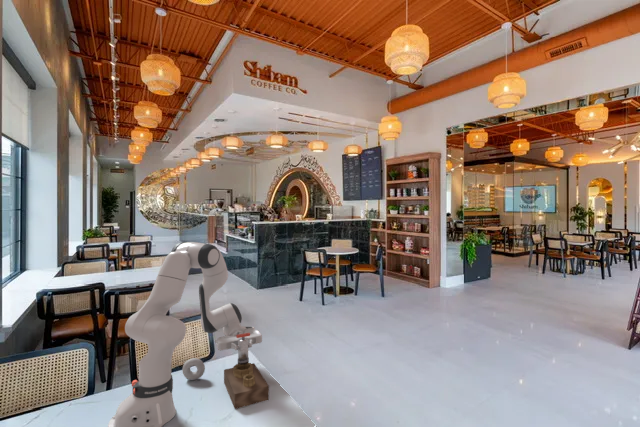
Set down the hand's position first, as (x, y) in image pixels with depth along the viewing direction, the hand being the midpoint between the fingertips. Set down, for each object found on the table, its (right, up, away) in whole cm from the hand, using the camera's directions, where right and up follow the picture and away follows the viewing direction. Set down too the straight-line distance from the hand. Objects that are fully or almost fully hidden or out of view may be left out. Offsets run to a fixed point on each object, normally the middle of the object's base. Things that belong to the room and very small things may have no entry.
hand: (243, 347), depth 145 cm
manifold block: (+1, -18, -3) cm, 18 cm away
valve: (0, -7, +1) cm, 7 cm away
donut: (-25, -18, +6) cm, 31 cm away
